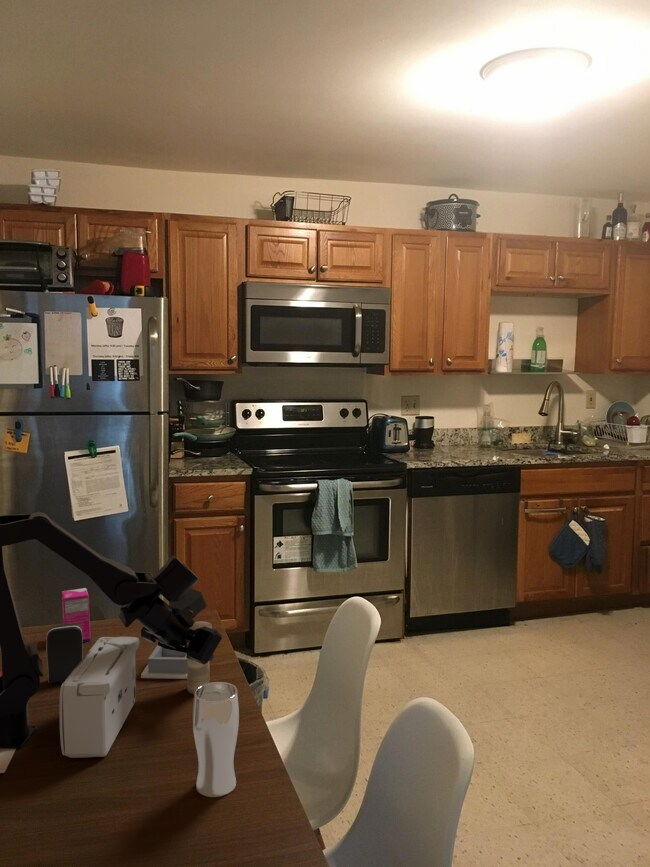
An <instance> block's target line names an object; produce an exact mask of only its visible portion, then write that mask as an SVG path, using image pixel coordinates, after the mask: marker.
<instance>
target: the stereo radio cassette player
mask: <svg viewBox="0 0 650 867" xmlns="http://www.w3.org/2000/svg"><path fill="white" fill-rule="evenodd" d="M139 647H140V638H139V637H135V636H117V637H116V636H102V637H99V638H98V639H97V641H96V642H95V643H94V644H93V645H92V647H90V649H89V650H88V652H87V653H86V654H85V656H84V657H83V659H82V660H81V662H80V663H79V664H78V665H77V667H76V668H75V669H74V670H73V671H72V673H71V674H70V675H69V676H68V678H67V679H66V680H65V681H64V682H62V684H61V686H60V690H59V736H60V737H59V738H60V748H61V753H62V756H65V757H68V758H72V759H76V758H77V759H78V758H81V759H82V758H98V757H99V758H100V757H102V758H104V757H106V756H107V754H108V753H109V751H110V749H111V747H112V746H113V744H114V742H115V740H116V739H117V736H118V734H119V732H120V730H121V729H122V727H123V725H124V723H125V721H126V720H127V718H128V716H129V714H130V712H131V710H132V709H133V707H134V705H135V704H136V697H137V691H136V684H137V682H136V652H137V650H138V649H139Z"/></svg>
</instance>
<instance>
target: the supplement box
mask: <svg viewBox="0 0 650 867" xmlns="http://www.w3.org/2000/svg"><path fill="white" fill-rule="evenodd" d="M89 597H90V596H89V593H88V589H87V588H86V587H83V588H77V589H69V590H63V591H61V600H62V601H61V603H62V604H61V605H62V606H61V607H62V625H63V624H73V623H74V624H78V625H79V626H80V627H81V630H82V636H83V643H87V642H86V641H88V642H91V637H92V636H91V620H90V599H89Z"/></svg>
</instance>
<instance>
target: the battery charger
mask: <svg viewBox="0 0 650 867" xmlns="http://www.w3.org/2000/svg"><path fill="white" fill-rule="evenodd" d="M45 647H46V649H45V650H46V662H47V683H48V684H50V685H51V684H59V683H60V684H61V683H64V681H65V680H66V679H67V678H68V676H69V675H70V674H71V673H72V671H73V670H74V669H75V668H76V667H77V665H78V664H79V663H80V662H81V660H82V659H83V658H84V657H83V656H84V652H83V651H84V642H83V636H82V630H81V627H80V626H79V625H78V624H74V623H73V624H63V623H62V624H58V625H57V624H56V625H53V626H51V627H49V628H48V630H47V633H46V645H45Z"/></svg>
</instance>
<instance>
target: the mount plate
mask: <svg viewBox="0 0 650 867" xmlns="http://www.w3.org/2000/svg"><path fill="white" fill-rule="evenodd" d="M186 656H187V653H184V652H179V651H174V650H169V649H165V648H163V647H160V646H158V644H157V645H156V647H155V648H154V649H153V651H152V653H151V654H150V656H149V657H148V658H147V664H146V666H145V668H144V669H143V670H142V672H141V674H140V679H171V680H172V679H174V680H187V658H186Z"/></svg>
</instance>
